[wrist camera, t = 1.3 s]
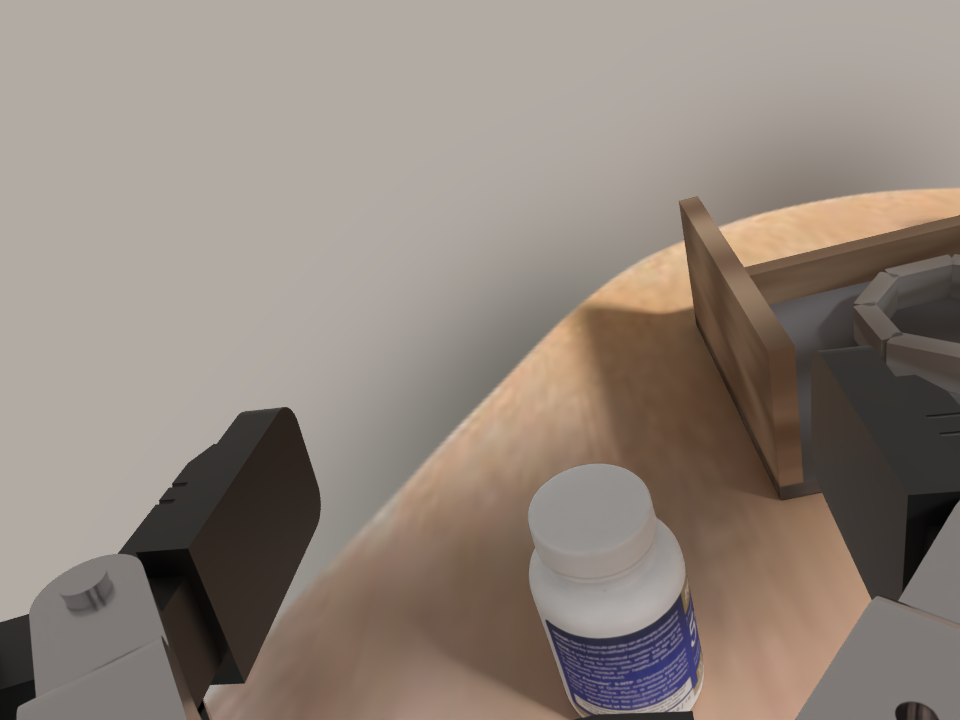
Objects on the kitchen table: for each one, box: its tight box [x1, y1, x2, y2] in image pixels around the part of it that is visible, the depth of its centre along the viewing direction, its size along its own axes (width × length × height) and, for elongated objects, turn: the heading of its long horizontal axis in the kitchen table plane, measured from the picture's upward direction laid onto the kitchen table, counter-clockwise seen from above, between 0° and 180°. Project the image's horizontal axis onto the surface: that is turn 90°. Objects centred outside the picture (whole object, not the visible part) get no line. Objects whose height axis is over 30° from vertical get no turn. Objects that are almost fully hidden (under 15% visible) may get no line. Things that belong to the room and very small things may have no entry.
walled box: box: [679, 197, 960, 500], centre depth 37 cm, size 15×22×8 cm
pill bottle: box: [528, 464, 704, 718], centre depth 28 cm, size 5×5×9 cm
